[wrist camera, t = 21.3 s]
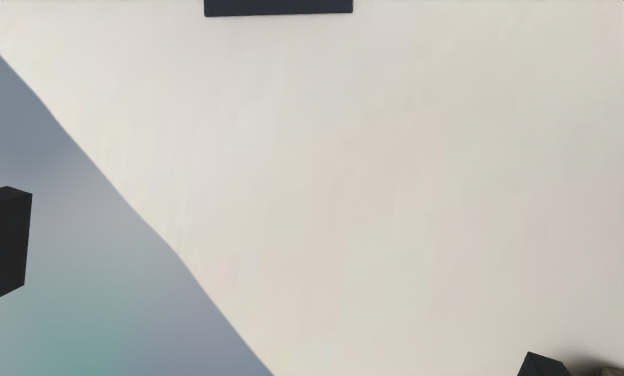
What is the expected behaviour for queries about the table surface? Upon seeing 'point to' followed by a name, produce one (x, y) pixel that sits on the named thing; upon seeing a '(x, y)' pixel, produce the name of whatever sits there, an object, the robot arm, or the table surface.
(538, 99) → the table surface
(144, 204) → the table surface
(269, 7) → the desk mat
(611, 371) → the fossilized seashell
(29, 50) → the table surface
